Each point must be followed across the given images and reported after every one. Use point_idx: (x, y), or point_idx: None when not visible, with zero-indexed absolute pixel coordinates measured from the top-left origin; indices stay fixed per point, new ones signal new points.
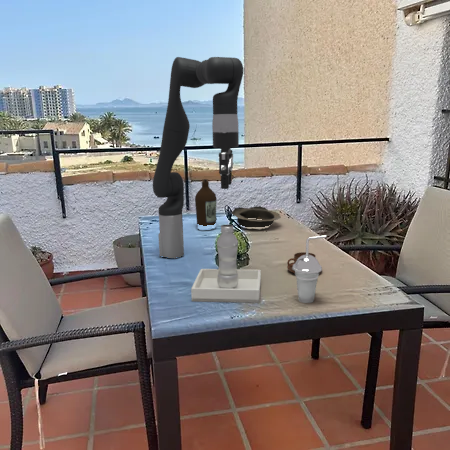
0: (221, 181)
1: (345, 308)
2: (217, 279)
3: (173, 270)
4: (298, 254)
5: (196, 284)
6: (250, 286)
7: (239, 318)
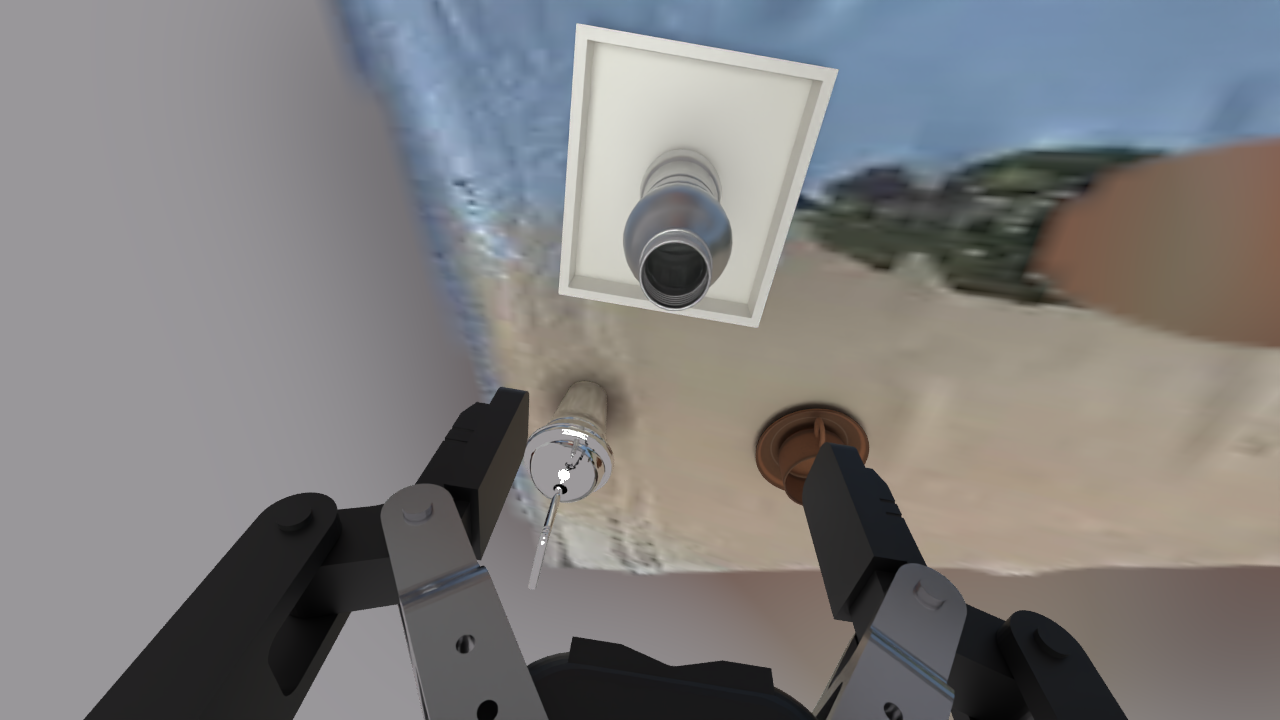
0: (471, 437)
1: None
2: (673, 151)
3: None
4: None
5: (640, 48)
6: None
7: (457, 206)
